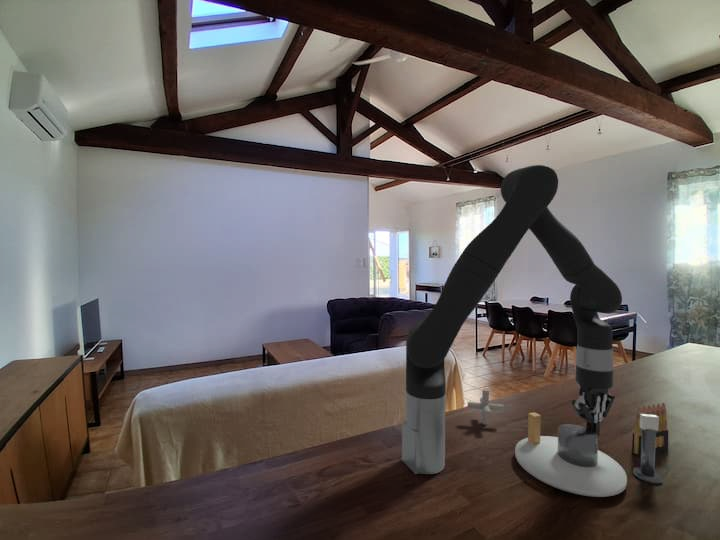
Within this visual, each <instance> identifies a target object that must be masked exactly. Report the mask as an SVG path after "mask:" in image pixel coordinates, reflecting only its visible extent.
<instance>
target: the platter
mask: <svg viewBox="0 0 720 540" xmlns="http://www.w3.org/2000/svg"><path fill="white" fill-rule="evenodd" d="M541 417H542V415H541V414H539V413H536V412H535V411H534V412H533V411H532V412H529V413H528V417H527V418H528V419H527V421H528V423H527V437H526V438H523V439H521V440H519V441H518V442H517V443H516V445H515V448H514V449H515V451H514V453H515V455H514V456H515V458H516V461H517V463H518V464H519V465H520V466H521V468H522V469H524V471H526V472H527V473H529V474H530V475H531V476H533V477H534V478H536V479H537V480H539V481H541V482H542V483H545V484H547V485H549V486H551V487H553V488H556V489H558V490H561V491H565V492H567V493H571V494H575V495H580V496H586V497H594V498H595V497H596V498H603V497H604V498H605V497H611V496H616V495H619V494H621V493H622V492H624V490H625V489H626V488H627V484H628V476H627V473H626V471H625V469H624V468H623V467H622V466H621V464H619V463H618V462H617V461H616V460H614V459H613V458H612V457H611V456H609V455H608V454H606V453H604V452H603V451H601V450H599V449H598V464H597V465H596V466H594V467H581V466H576V465H573V464H571V463H568V462H566V461H565V460H563V459H562V458H561V457H560V456H559V455H558V436H550V435H541V419H542V418H541Z"/></svg>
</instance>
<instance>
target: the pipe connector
mask: <svg viewBox="0 0 720 540" xmlns="http://www.w3.org/2000/svg"><path fill="white" fill-rule="evenodd" d="M467 409H475V410H481V424H482V425H484V426H487V425H489V418H491V417H492V412H491V411H498V412H504V411H505V406H504V404H499V403H498V404H497V403H490V390H489V389H487V388H483V389H482V397H480V398H479V402H476V401H467Z"/></svg>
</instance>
